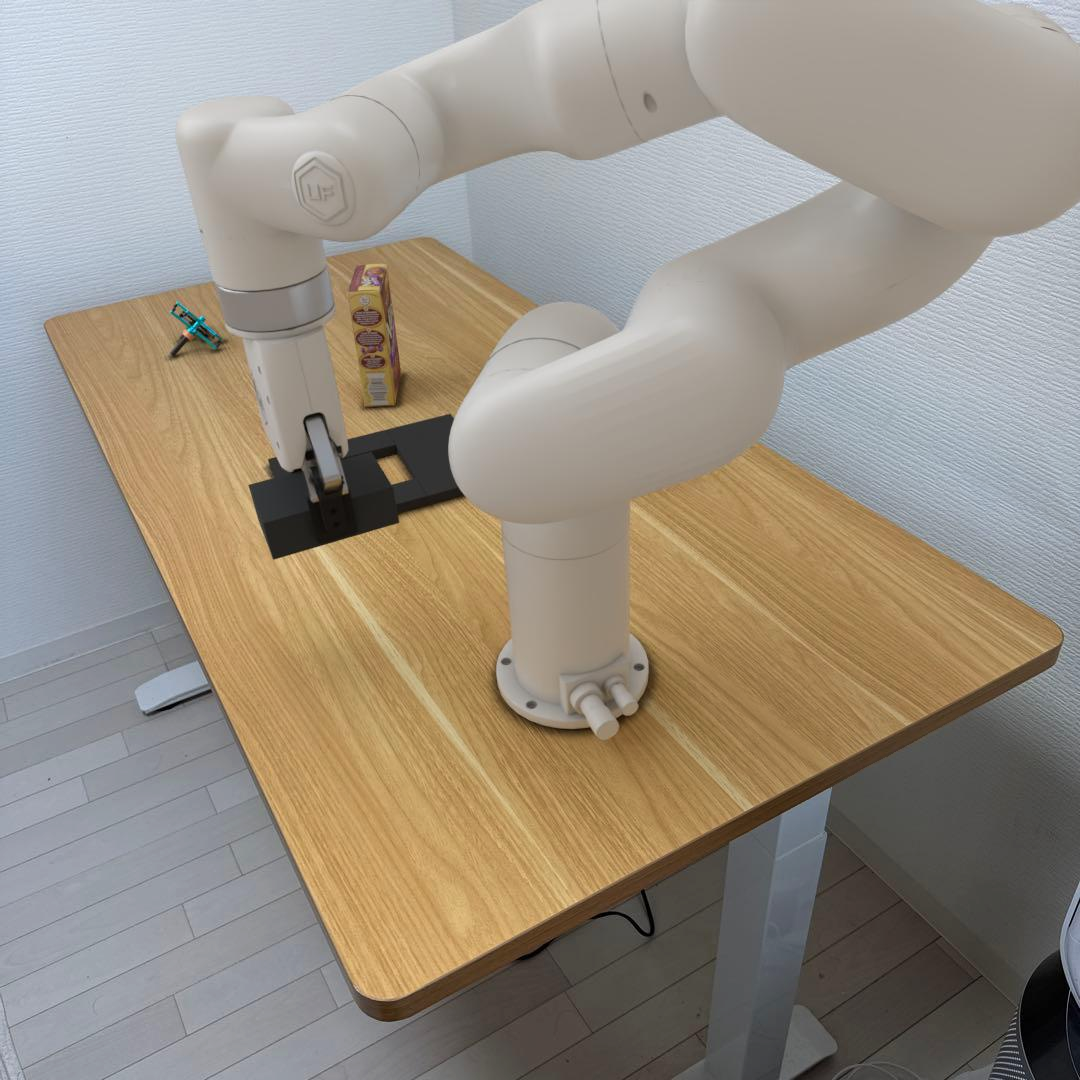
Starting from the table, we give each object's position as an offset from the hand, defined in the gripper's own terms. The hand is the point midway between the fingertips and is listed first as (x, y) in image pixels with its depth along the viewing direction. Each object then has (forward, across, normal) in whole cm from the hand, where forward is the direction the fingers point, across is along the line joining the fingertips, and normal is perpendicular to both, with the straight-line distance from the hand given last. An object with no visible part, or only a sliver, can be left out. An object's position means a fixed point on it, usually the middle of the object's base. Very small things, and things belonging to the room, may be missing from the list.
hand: (326, 513), depth 76 cm
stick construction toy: (+14, -75, -4) cm, 76 cm away
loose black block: (+1, 0, 0) cm, 1 cm away
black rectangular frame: (+14, -26, +10) cm, 32 cm away
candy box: (+14, -46, +16) cm, 51 cm away
